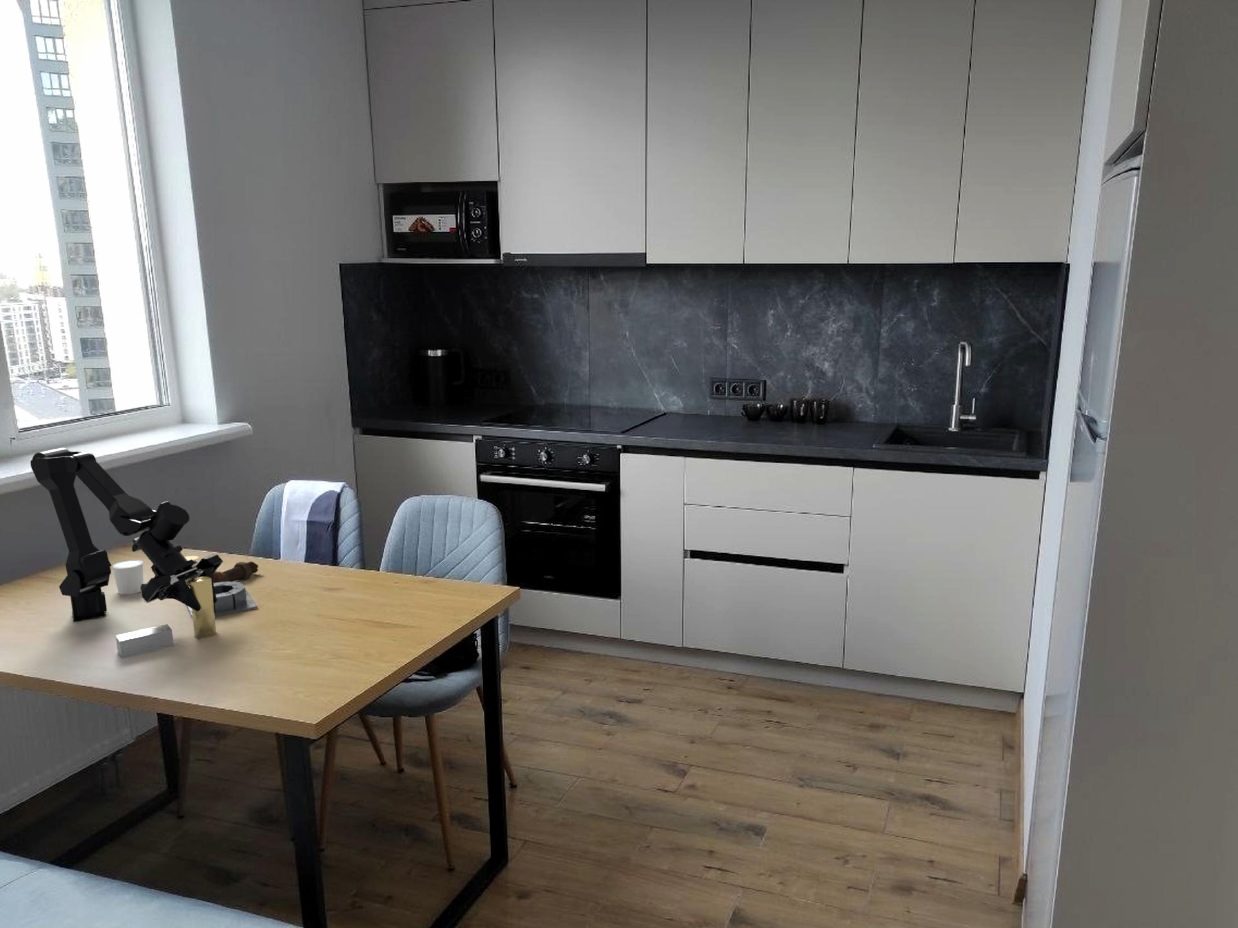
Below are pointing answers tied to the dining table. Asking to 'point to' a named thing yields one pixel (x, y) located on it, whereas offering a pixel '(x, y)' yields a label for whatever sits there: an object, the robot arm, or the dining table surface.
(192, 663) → the dining table surface
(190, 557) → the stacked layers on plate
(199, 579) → the pale yellow tall bar
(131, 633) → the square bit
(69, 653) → the dining table surface
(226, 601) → the socket block
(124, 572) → the shot glass
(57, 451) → the robot arm
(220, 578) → the bolt
